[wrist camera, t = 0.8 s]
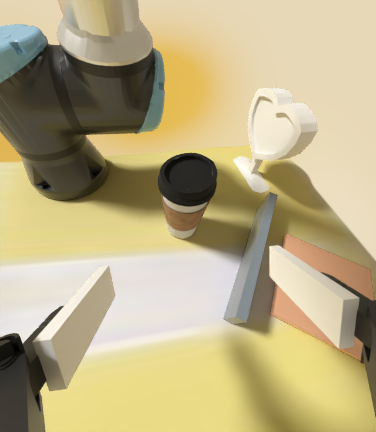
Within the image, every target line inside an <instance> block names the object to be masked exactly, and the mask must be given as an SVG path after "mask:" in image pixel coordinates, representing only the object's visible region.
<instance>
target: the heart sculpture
mask: <svg viewBox="0 0 376 432" xmlns="http://www.w3.org/2000/svg"><path fill="white" fill-rule="evenodd" d="M316 133H317V121H316V119H315V117H314V114H313V113H312V112H311V110H310V109H309V107H308V106H306V105H305V104H302V103H297V104H294V102H293V97H292V94H291V93H290V92H289V91H287V90H285V89H282V88H261V89H260V90H258V91H257V92H256V94H255V96H254V98H253V101H252V104H251V107H250V111H249V117H248V134H249V142H250V147H251V151H252V158H253V159H252V161H251V160H250V159H249V158H247V157H237V158H235V159H234V160H233V161H234V162H235V164H236V166H237V167H238V169H239V170H240V172H241V173H242V175H243V176H244V178H245V180H246V181H247V183H248V184H249V186H250V187H251V189H252V191H255V192H261V193H264V192H266V191H267V190H268V189H269V188H270V187H269V186H268V184H267V183H266V181H265V180H264V179H263V177H262V176H261V174H260V173H259V172H258V168H259V167H260V165H261V163H262V161H263V160H265V161H272V160H281V159H288V158H291V157H293V156H295V155H297V154H300V153H301V152H302V151H303V150H304V149H305V148H306V147H307V146H308V145H309V144H310V143H311V141H312V140H313V138H314V136H315V134H316Z"/></svg>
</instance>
